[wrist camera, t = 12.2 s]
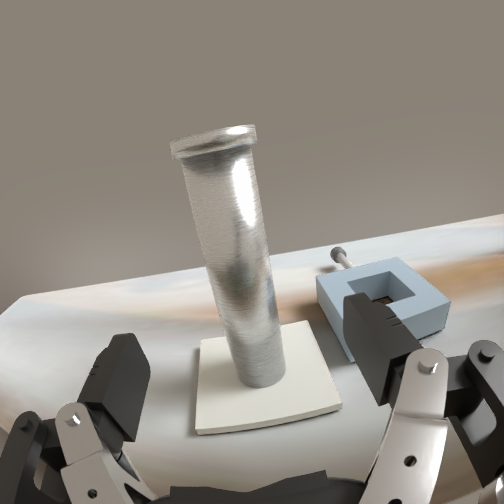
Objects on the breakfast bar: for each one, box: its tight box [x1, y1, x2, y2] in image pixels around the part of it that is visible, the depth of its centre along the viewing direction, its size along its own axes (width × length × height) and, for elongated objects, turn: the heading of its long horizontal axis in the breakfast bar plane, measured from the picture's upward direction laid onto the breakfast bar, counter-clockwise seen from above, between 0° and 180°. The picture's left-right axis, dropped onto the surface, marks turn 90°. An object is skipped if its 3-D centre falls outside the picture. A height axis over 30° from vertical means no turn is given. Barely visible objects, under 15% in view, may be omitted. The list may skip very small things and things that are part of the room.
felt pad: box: [195, 320, 342, 435], centre depth 21 cm, size 10×10×1 cm
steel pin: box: [170, 125, 286, 388], centre depth 17 cm, size 5×5×17 cm
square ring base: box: [316, 247, 451, 363], centre depth 27 cm, size 10×17×3 cm, turn 5°
